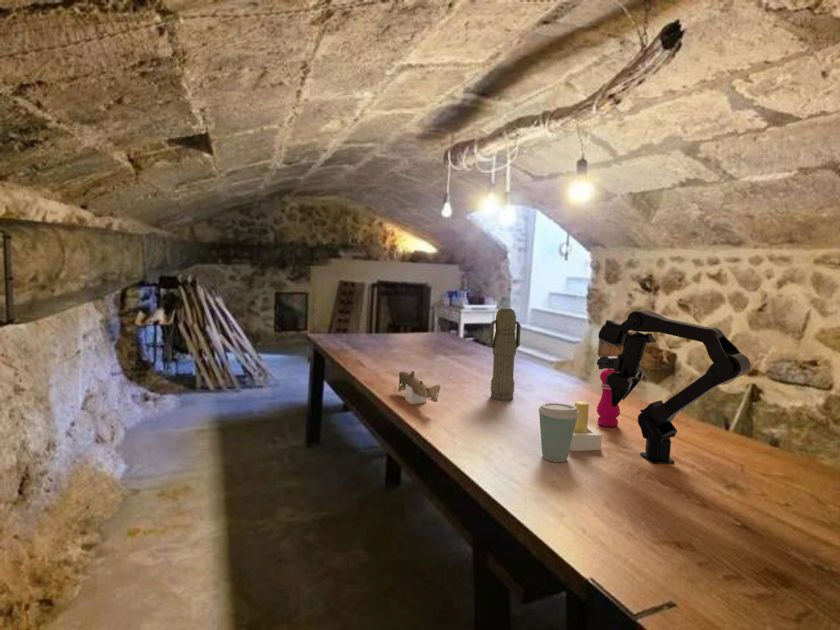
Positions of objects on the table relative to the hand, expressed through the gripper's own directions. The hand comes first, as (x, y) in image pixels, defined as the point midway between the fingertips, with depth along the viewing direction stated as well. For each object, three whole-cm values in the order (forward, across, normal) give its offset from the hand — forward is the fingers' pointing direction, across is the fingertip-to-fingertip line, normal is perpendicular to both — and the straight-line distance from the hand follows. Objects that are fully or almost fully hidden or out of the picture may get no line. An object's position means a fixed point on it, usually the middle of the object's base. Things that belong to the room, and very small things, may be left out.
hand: (617, 402), depth 144 cm
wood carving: (+26, +4, -66) cm, 71 cm away
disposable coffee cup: (+15, +20, -8) cm, 26 cm away
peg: (+14, +6, -6) cm, 17 cm away
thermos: (+22, -23, -45) cm, 55 cm away
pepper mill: (+14, -18, -4) cm, 23 cm away
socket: (+14, +6, -6) cm, 17 cm away
